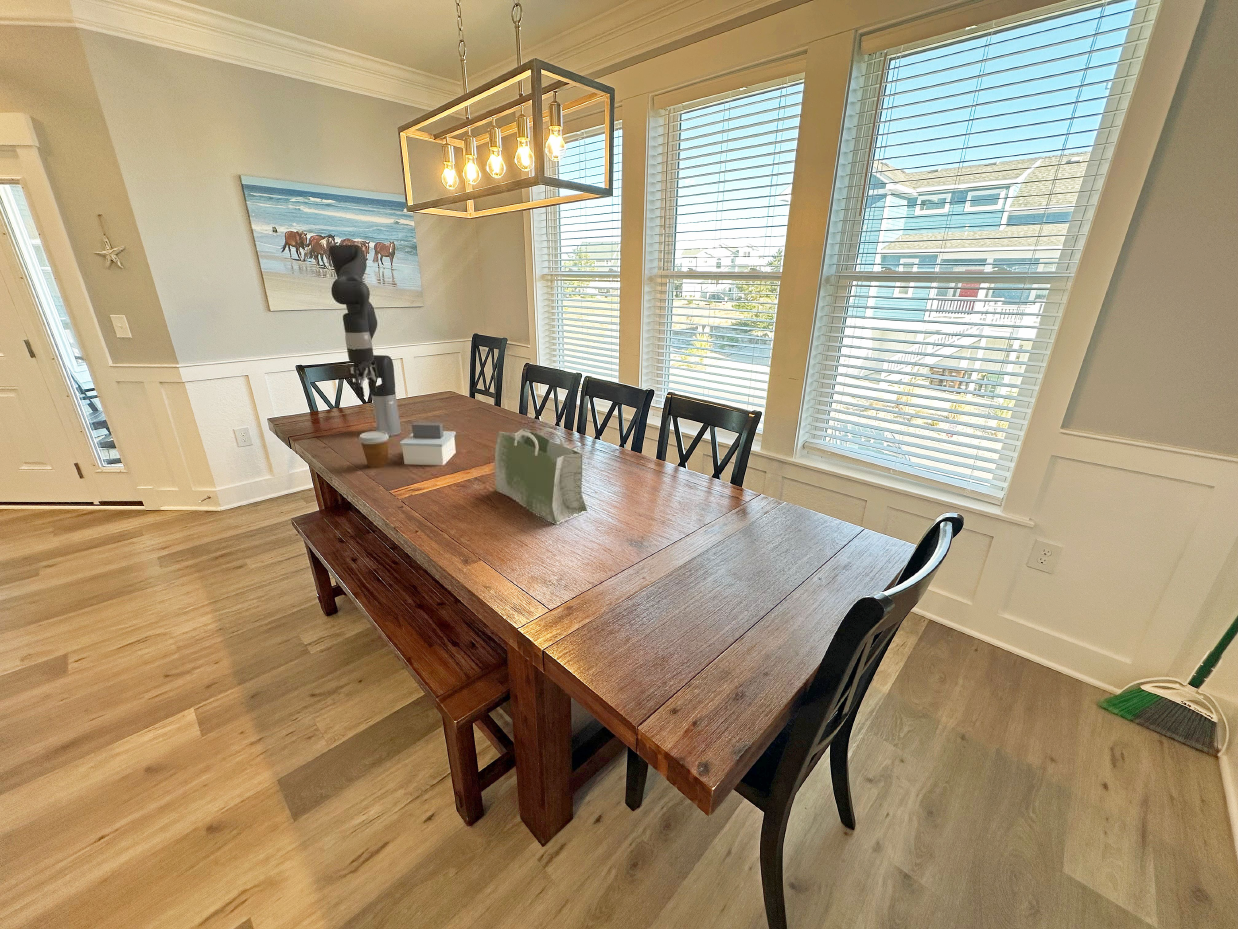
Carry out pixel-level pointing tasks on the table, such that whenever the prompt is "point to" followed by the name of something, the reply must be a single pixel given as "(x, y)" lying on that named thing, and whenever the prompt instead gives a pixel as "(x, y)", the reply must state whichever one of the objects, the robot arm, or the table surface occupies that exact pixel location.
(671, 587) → the table surface
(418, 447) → the storage box
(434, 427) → the box lid
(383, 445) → the disposable coffee cup
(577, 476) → the grocery bag
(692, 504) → the table surface
